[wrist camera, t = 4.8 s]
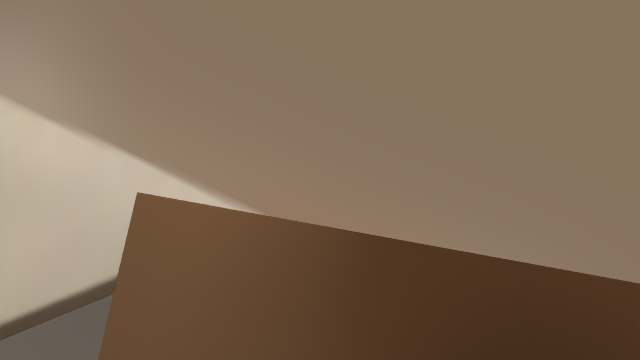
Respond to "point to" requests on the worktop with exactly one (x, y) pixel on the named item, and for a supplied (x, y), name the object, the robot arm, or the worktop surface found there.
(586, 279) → the walnut post
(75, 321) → the baseplate
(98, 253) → the worktop surface
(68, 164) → the worktop surface
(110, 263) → the worktop surface
